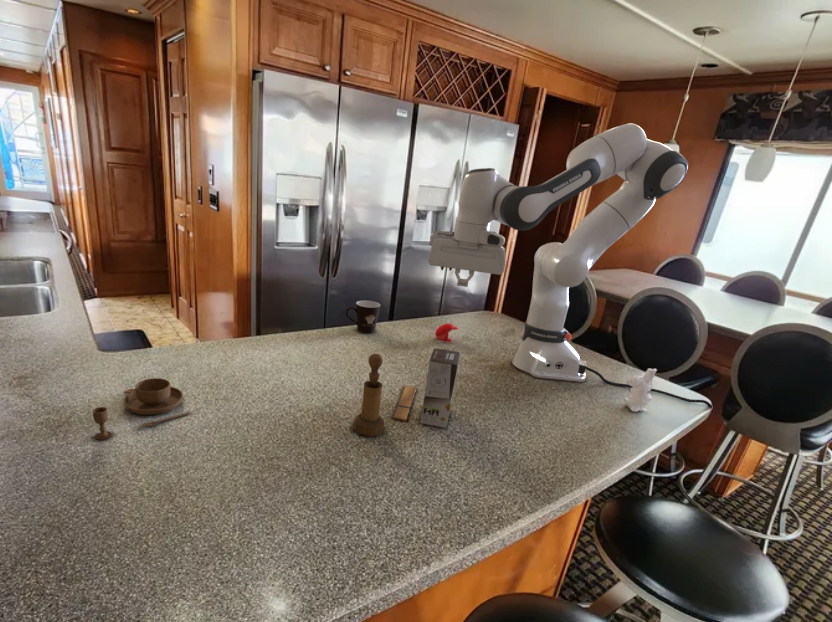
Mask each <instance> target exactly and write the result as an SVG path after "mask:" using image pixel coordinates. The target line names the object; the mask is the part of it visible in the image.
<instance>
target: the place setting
mask: <svg viewBox="0 0 832 622" xmlns="http://www.w3.org/2000/svg"><path fill="white" fill-rule="evenodd" d="M123 393H124V394H126V395H125V397H124V398H123V405H124V407H125V408H126V409H127V411H130V412H131V413H133V414H137V415H145V416H153V415H154V416H155V415H160V414H164V413H167V412H169V411H172V410H174V409H176V408H177V407H179V405H181V403H182V402H183V399H184V394H183V391H182V390H181V389H180V388H177V387H174V386H171V383H170V381H169V380H167V379H164V378H160V377H159V378H158V377H157V378H156V377H155V378H153V377H152V378H147V379H144V380H141V381H139V382H137V383H136V384H135V386H134V388H129V389H126V390H124V391H123ZM187 415H189V412H186V413H182V414H179V415H178V414H177V415H175V416H174V415H173V416H171V417H167V418H164V419H160V420H157V421H153V422H152V421H151V422H144V423H143V422H142V423H140V425H142V427H154V426H157V425H158V424H159V423H161V422H166V421H170V420H173V419H177V418H180V417H183V416H187ZM92 417H93V421H94V423H95V424H97V425H99V429H98V430H99V432H98V433H97V434H95V436H94V438H95V439H96V440H97V441H105V440H109V439H110V438H112V436H113V434H112V432H110V431H106V429H107V428H106V426H105V423H107V422H108V420H109V412H108V407H105V406H98V407H95V408H93V410H92Z"/></svg>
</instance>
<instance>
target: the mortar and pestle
mask: <svg viewBox="0 0 832 622" xmlns="http://www.w3.org/2000/svg"><path fill="white" fill-rule="evenodd" d="M383 360H384V359H383V357H382V355H381V354H379V353H372V354H370V356H369V357H368V360H367V361H368V365H369V367H370V372H369V373H368V378H369V380H366V381H365V382H364V383H363V394H362V404H361V412H360V413H359V414H357V415H356V416H355V417H354V422H353V430H354V432H356V433H357V434H360V435H363V436H365V437H376V436H380V435H381V434H382V433H383V432H384V427H385V426H384V425H385V420H384V418H383V417H382V416H381V415H380V408H381V407H380V406H381V399H382V391H383V384H382V382H380V381H379V379H380V377H381V376H380V373H379V369H380V368H381V366H382V365H383Z"/></svg>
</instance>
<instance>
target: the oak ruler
mask: <svg viewBox="0 0 832 622" xmlns="http://www.w3.org/2000/svg"><path fill="white" fill-rule="evenodd" d="M416 392H417V387H414V386H409V385H405V387H404V389H403V391H402V394H401V397H400V399H399V402H398V404H397V407H396V409H395V413H394V416H393V418H392V419H394V420H396V421H397V420H398V421H403V422H407V419H408V416H409V412H410V411H411V407H412V404H413V401H414V397H415V394H416Z"/></svg>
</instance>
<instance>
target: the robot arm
mask: <svg viewBox="0 0 832 622" xmlns="http://www.w3.org/2000/svg"><path fill="white" fill-rule="evenodd" d="M688 168H689V162H688V160H687V158H685V156H684V155H682V154H681V153H680V151H677V150H673V149H671V148H670V147H669V146H667V145H665V144H663V143H661V142H658V141H654V140H651V139H648V138H647V135H646V133H645V131H644V129H643V128H642V127H640V125H637V124H635V123H626V124H622V125H619V126H616V127H613V128H610V129H607V130H605V131H602V132H600V133H597V134H596V135H593V137H590V138H588V139H586V140H585V141H584V142H581V143H580V144H579V145H577V146H576V147H575V148H573V149H572V150H571V151H570V152H569V154H568V156H567V158H566V170H564V171H562V172H561V173H558V174H557V175H555V176H553V177H552V178H550V179H547V181H545V182H543V183H540V184H538V185H526V186H525V185H522V186H521V185H515V184H514V183H512V182H510V181H509V180H507V179H506V178H504V177H503V176H502V175H501V174H499V172H498V170H497V169H496V168H493V167H485V168H484V167H483V168H474V169H471V170H468V172H466V173H465V175H464V177H463V181H462V184H461V188H460V192H459V197H458V212H457V216H456V218H455V223H454V229H453V231H450V230H449V231H448V230H446V231H445V230H441V229H437V230H436V231H434V232H432V233H431V234H430V237H429V245H430V250H429V253H428V258H427V263H428V264H429V266H434V267H440V268H447V269H448V268H449V269H454V275H455V277H456V281H457V283H456V286H458V287H464V288H468V286H469V282H470V281H471V279H472V278H473V277H474V275H475V272H476V273H477V272H478V273H484V274H492V275H499V276H500V275H502V274H503V273H504V272H505V267H506V249H505V247H504V245H505V243H506V238H505V237H504V236H503V234H500V233H497V232H496V231H494V230H491V229H490V227H491V223H492V221H495V222H497V223H500V224H503V225H505V226H507V227H510V228H511V229H513V230H515V231H520V232H521V231H523V232H524V231H529V230H531V229H533V228H535V227H536V226H537V225H539V224H540V223H541V222H542V221H543V219H544V218H545V217H546V216H547V215H548V214H549V213H550V212H551V211H552V210H554V209H555V208H557V207H558V206H560V205H562V204H564V203H565V202H567V201H569V200H570V199H572V198H574V197H576V196H578V195H579V194H581V193H582V192H584V191H585V190H588V189H589V188H591V187H593V186H595V185H597V184H599V183H602V182H604V181H606V180H608V179H610V178H612V177H613V176H615V175H616V176H618V177H620V179H622V180H623V183H622V184H621V186H620V187H619V189H617V190H616V191H614V192H613V193H612V194H610V195H609V196H608V197H606V198H605V199H604V200H603V201H602V202H601V203H599V204H598V205H597V206H596V207H594V208H593V210H591V211H590V212H589V213H588V214H587V215H586V216H584V218H582V219H581V220H580V221H579V222H578V224H577V226H576V227H575V229H574V230H573V231H572V233H571V234H570V236H568V237H567V239H566V240H565V241H563V243H561V242H558V241H556V242H555V241H554V242H548V243H545V244H543V245H541V246H539V247H538V249H537V251H536V252H535V254H534V257H533V258H534V259H533V262H534V267H533V277H532V279H533V280H532V292H531V299H530V304H529V310H528V313H527V318H526V321H524V325H523V327H522V331H521V339H520V340H521V341H520V344H519V346H518V349H517V350H516V353H515V355H514V357H513V359H512V360H511V363H512V365H513V366H515V368H517V369H519V370H521V371H523V372H525V373H528V374H529V375H531V376H533V377H534V378H539V379H547V380H557V381H567V382H568V381H569V382H579V383H582V382H583V383H584V381H585V380H586V376H587V375H586V371H589V372H591V373H592V374H595V375H597V376H598V377H599V378H600V380H601V381H602V382H603V383H606V384H608V385H611V386H616V387H622V388H623V387H624V388H629V389H631V388H633V387H632V386H630V385H628V384H627V383H620V382H614V381H610V380H608V379H606V378H605V377H604V376H603V375H602V374H601V373H600V372H598V371H597V370H595V369H593V368H591V367H588V366H587V361H586V360H582V359H581V358H580V355H579V353H578V352H577V351H576V349H575V348H574V347H573V346H572V345H571V344H570V343H569V341H571V340H572V339H573V335H572V334H571V333H570V332H569V331H568V330H567V329H566V328H565V327H564V326H565V322H566V320H567V314H568V310H569V307H570V301H569V300H570V299H569V288H575V287H577V286H579V285H581V284H582V283H583V282H584V281H585V280H586V279H587V277H588V275H589V271H590V270H591V268H592V267H593V266H594V264H595V263H597V261H598V260H599V259H600V257H602V255H603V254H604V253H605V252H606V251H607V250H608V249H609V248H610V247H611V246H612V245H614V244H615V243H616V242H617V241H618V240H619V239H620V238H622V237H623V236H624V235H625V234H627V233H628V232H629V231H630V230H631V229H632V228H634V227H635V226H636V225H637V224H638V223H639V222H640V221H641V220H642V219H643V218H644V217H645V216H646V215H647V214H648V213H649V211H650V210H651V209H652V208H653V206H654V205H655V202H656V201H657V200H659V199H661V198H663V197H664V196H666V195H668V194H669V193H671V192H672V191H674V190H675V189H677V188H678V187H679V186H680V185H681V183H683V181H684V180H685V177H686V175H687V172H688ZM461 270H462V271H468V276H467V278H461V276H460V273H461ZM649 392H653V393H657V394H661V395H665V396H667V397H670V398H674V399H677V400H680V401H683V402H688V403H693V404H695V403H697V404H699V403H700V404H705V405H706V406H707V407H708V408H711V409H712V408H713V406H712V404H711V403H710V402H709V401H707V400H704V399H693V398H692V399H691V398H686V397H683V396H679V395H677V394H674V393H670V392H667V391H664V390H661V389H656V388H652V389H651V390H650V391H649Z"/></svg>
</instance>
